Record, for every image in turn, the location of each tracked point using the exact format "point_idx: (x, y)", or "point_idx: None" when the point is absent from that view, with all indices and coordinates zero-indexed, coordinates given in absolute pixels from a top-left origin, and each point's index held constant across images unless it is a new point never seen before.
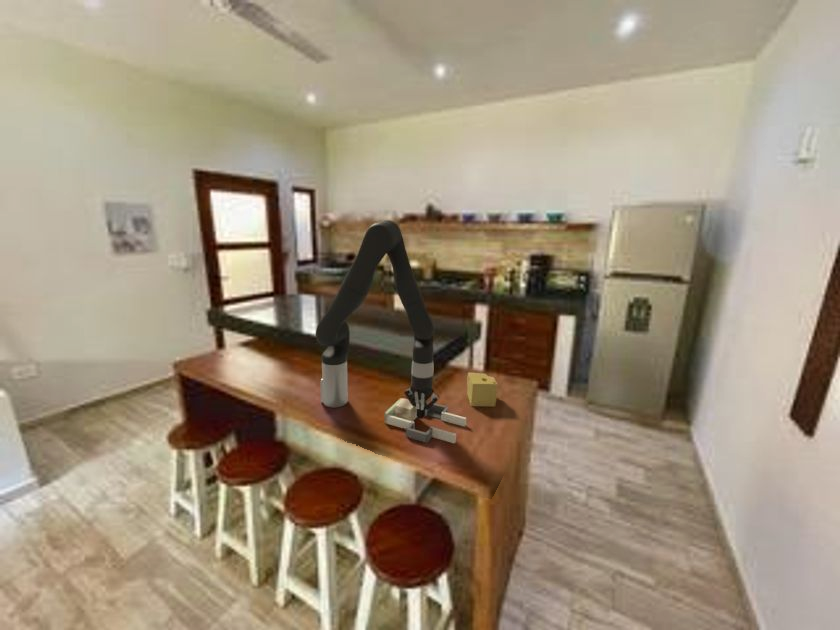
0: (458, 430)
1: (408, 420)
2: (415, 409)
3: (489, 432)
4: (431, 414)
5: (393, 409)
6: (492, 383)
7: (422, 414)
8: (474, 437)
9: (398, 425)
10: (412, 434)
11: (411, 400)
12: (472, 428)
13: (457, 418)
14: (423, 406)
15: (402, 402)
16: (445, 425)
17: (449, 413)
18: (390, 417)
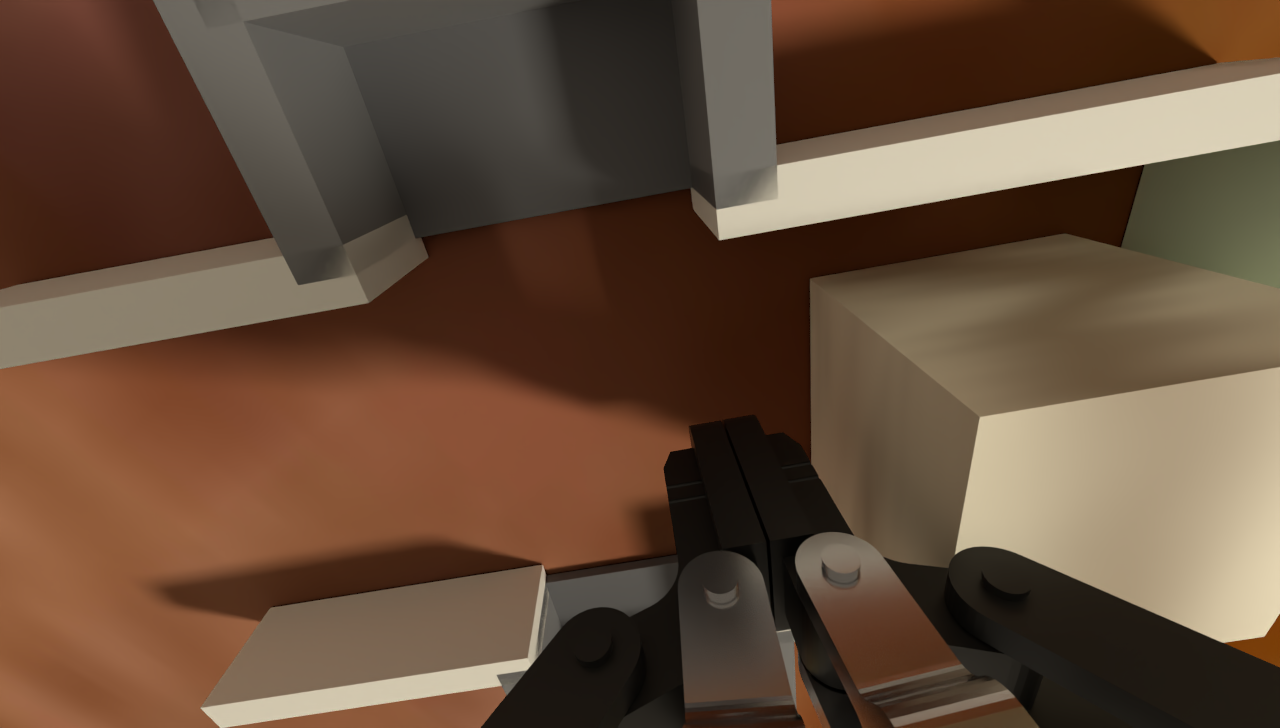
0: (257, 528)
1: (855, 213)
2: (878, 529)
3: (32, 657)
4: None
5: None
6: None
7: (696, 486)
8: (25, 525)
9: (971, 113)
10: None
11: (1177, 694)
12: (195, 623)
13: (315, 669)
14: (697, 654)
15: (1254, 532)
16: (435, 520)
17: (437, 692)
18: (1274, 72)
